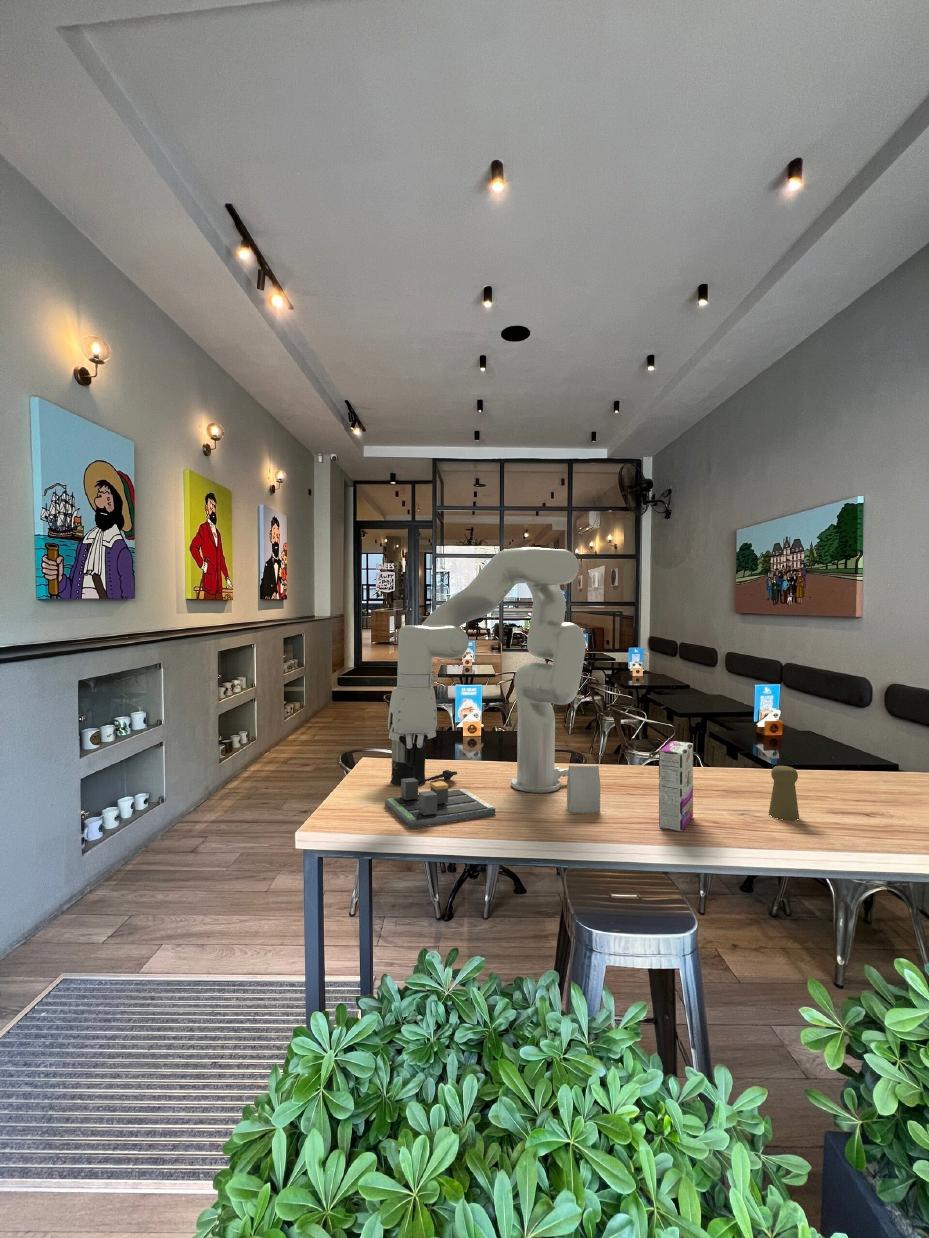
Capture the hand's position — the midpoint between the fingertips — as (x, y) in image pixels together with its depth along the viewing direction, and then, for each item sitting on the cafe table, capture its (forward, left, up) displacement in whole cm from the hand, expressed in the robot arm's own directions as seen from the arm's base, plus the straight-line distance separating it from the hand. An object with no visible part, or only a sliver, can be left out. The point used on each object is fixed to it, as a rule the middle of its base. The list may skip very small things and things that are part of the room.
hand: (411, 765), depth 132 cm
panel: (-7, 0, -11) cm, 13 cm away
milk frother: (-12, -22, -11) cm, 28 cm away
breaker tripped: (-7, 0, -9) cm, 11 cm away
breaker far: (-2, -6, -9) cm, 11 cm away
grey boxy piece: (-37, +13, -11) cm, 40 cm away
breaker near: (-2, +5, -9) cm, 11 cm away
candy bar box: (-50, +28, -11) cm, 58 cm away
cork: (-75, +35, -11) cm, 83 cm away
